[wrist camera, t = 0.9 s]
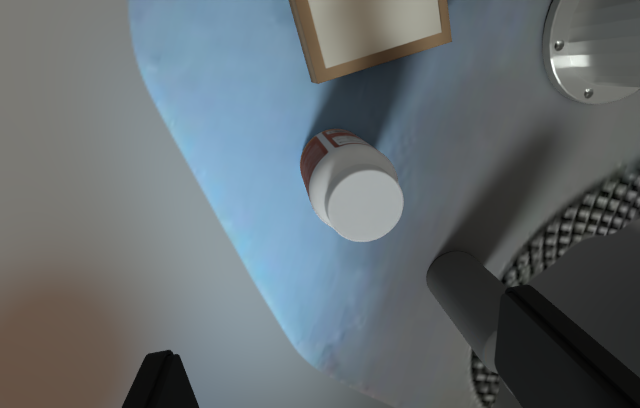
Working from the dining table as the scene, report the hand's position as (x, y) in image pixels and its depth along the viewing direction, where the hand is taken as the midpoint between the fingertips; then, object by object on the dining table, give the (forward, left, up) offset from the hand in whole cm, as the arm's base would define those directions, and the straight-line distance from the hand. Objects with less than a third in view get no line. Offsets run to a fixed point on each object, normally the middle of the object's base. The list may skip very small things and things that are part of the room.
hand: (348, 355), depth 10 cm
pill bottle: (-3, +1, -22) cm, 22 cm away
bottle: (-12, +17, -22) cm, 30 cm away
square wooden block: (-8, -11, -22) cm, 26 cm away
